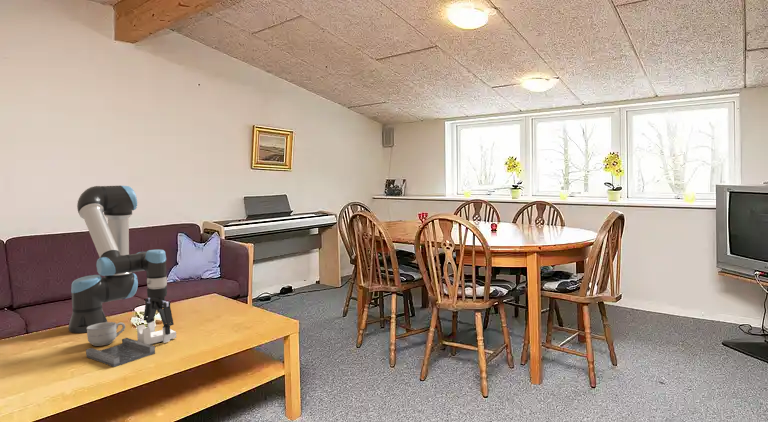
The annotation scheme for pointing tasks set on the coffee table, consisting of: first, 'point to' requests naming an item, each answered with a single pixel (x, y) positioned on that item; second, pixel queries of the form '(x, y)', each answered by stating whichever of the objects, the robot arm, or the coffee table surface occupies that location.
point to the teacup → (103, 333)
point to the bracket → (151, 335)
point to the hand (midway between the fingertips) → (159, 339)
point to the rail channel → (121, 352)
